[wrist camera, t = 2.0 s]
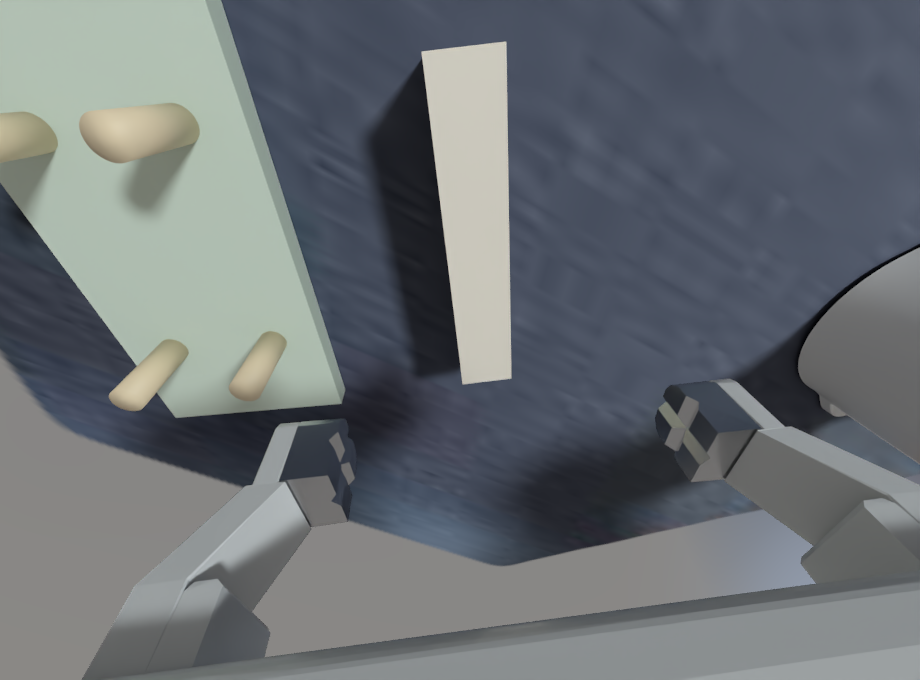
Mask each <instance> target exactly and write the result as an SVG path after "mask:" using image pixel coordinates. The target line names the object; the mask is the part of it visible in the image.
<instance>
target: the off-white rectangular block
mask: <svg viewBox="0 0 920 680" xmlns="http://www.w3.org/2000/svg"><path fill="white" fill-rule="evenodd" d="M422 60H423V68H424V76H425V84H426V92H427V100H428V108H429V116H430V125H431V133H432V141H433V149H434V157H435V165H436V173H437V181H438V189H439V197H440V205H441V213H442V222H443V230H444V238H445V246H446V254H447V262H448V270H449V278H450V286H451V294H452V302H453V310H454V319H455V327H456V335H457V343H458V351H459V359H460V367H461V375H462V383H463V384H470V383H478V382H486V381H494V380H503V379H511V323H510V257H509V191H508V126H507V60H506V42H499V43H490V44H482V45H473V46H465V47H456V48H448V49H439V50H431V51H422Z"/></svg>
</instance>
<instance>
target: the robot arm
mask: <svg viewBox="0 0 920 680" xmlns="http://www.w3.org/2000/svg"><path fill="white" fill-rule="evenodd" d="M798 371H799V375H800V377H801V379H802V381H803V382H804V383H805V384H806V385H807V386H808V387H810V388H811V389H813V390H815V391H816V392H817V393H818V394H819V397H820V404H821V407H822V408H823V409H824V410H826V411H827V412H828V413H830V414H831V415H833V416H836V417H840V416H846V415H848V416H849V417H851V418H852V419H854V420H855V421H857V422H858V423H860V424H861V425H862V426H864V427H865V428H867V429H868V430H870V431H871V432H873V433H874V434H876V435H877V436H878V437H880V438H881V439H883V440H884V441H886V442H887V443H889V444H890V445H892V446H893V447H895V448H896V449H898V450H899V451H901V452H902V453H904V454H905V455H907V456H908V457H910V458H911V459H913V460H914V461H916V462H917V463H919V464H920V247H919V248H917V249H915V250H913V251H911V252H909V253H908V254H906V255H904V256H902V257H900V258H898V259H896V260H894V261H892V262H891V263H889V264H887V265H885V266H884V267H882V268H881V269H879V270H877V271H876V272H874V273H873V274H871V275H870V276H868V277H867V278H866V279H864V280H863V281H861V282H860V283H859V284H857V285H856V286H855V287H854V288H852V289H851V290H850V291H849V292H847V293H846V294H845V295H844V296H843V297H842V298H841V299H839V300H838V301H837V302H836V303H835V304H834V305H833V306H832V307H831V308H830V309H829V310H828V311H827V312H826V314H825V315H824V316H823V317H822V318H821V319H820V320H819V322H818V323H817V324H816V326H815V327H814V328H813V330H812V331H811V333H810V334H809V336H808V338H807V339H806V341H805V343H804V345H803V347H802V350H801V353H800V356H799V361H798ZM663 397H664V399H665V401H666V402H665V403H664V404H663V405H662V406H661V407H659V408H658V410H657V414H656V417H655V422H656V429H657V432H658V434H659V436H660V438H661V440H662V441H663V443H664V444H665V445H667V446H668V447H670V448H671V449H673V450H675V460H676V462H677V463H678V465H679V466H680V467H681V469H682V470H683V472H684V473H685V475H686V476H687V478H688V479H689V480H690V482H698V481H709V480H721V479H725V480H724V481H725V482H726V483H728V484H729V485H731V486H732V487H733V488H735V489H736V490H737V491H739V492H740V493H742V494H743V495H744V496H746V497H747V498H748V499H750V500H751V501H753V502H754V503H755V504H757V505H758V506H759V507H761V508H762V509H764V510H765V511H767V512H768V513H769V514H771V515H772V516H773V517H775V518H776V519H777V520H779V521H780V522H782V523H783V524H784V525H786V526H787V527H788V528H790V529H791V530H793V531H794V532H795V533H797V534H798V535H800V536H801V537H802V538H804V539H805V540H806V541H808V542H809V543H810V544H812V545H813V547H812V548H811V549H810V550H809V551H808V552H807V553H806V554H804V555H803V556H802V558H801V564H802V566H803V567H804V569H805V570H806V571H807V572H808V574H809V575H810V576H811V577H812V579H813V580H814V581H815V583H816V584H810V585H803V586H795V587H788V588H781V589H773V590H765V591H758V592H751V593H743V594H736V595H729V596H721V597H714V598H705V599H698V600H691V601H683V602H676V603H669V604H661V605H654V606H646V607H639V608H631V609H624V610H616V611H608V612H601V613H593V614H586V615H578V616H571V617H563V618H556V619H549V620H541V621H533V622H526V623H519V624H511V625H503V626H496V627H488V628H481V629H473V630H466V631H458V632H451V633H444V634H436V635H428V636H422V637H414V638H406V639H398V640H391V641H384V642H376V643H369V644H361V645H354V646H346V647H339V648H331V649H324V650H316V651H309V652H301V653H294V654H287V655H279V656H271V657H265V653H266V648H267V644H268V641H269V637H270V632H269V630H268V628H267V626H266V625H265V624H264V623H263V622H262V621H261V620H260V619H258V618H257V616H255V615H254V614H253V613H252V611H253V609H254V608H255V606H256V605H257V604H258V602H259V601H260V600H261V598H262V597H263V595H264V594H265V592H266V591H267V590H268V589H269V587H270V586H271V584H272V583H273V582H274V580H275V579H276V577H277V576H278V575H279V573H280V572H281V570H282V569H283V567H284V566H285V565H286V564H287V562H288V561H289V559H290V558H291V556H292V555H293V554H294V553H295V551H296V550H297V548H298V547H299V546H300V544H301V543H302V541H303V540H304V539H305V537H306V535H308V533H309V532H310V530H311V528H310V527H314V526H321V525H329V524H335V523H342V522H348V518H349V512H350V506H351V500H352V493H351V490H350V488H349V484H350V483H351V482H352V481H353V480H354V479H355V474H356V450H355V445H354V442H353V440H352V439H350V438H349V437H348V432H349V427H348V424H347V422H346V419H330V420H317V421H304V422H296V423H283V424H280V425H279V426H278V427H277V428H276V429H275V431H274V433H273V436H272V438H271V441H270V443H269V446H268V448H267V450H266V453H265V455H264V458H263V460H262V462H261V465H260V467H259V470H258V472H257V475H256V477H255V479H254V482H253V484H252V485H247V486H245V487H244V488H242V489H241V490H240V491H239V492H238V493H237V494H236V495H235V496H234V497H232V498H231V499H230V500H229V501H228V502H227V503H226V504H225V505H224V506H223V507H222V508H221V509H219V510H218V511H217V512H216V513H215V514H214V515H213V516H212V517H210V518H209V519H208V520H207V521H206V522H205V523H204V524H203V525H202V526H200V527H199V528H198V529H197V530H196V531H195V532H194V533H193V534H192V535H191V536H190V537H188V538H187V539H186V540H185V541H184V542H183V543H182V544H181V545H180V546H178V547H177V548H176V549H175V550H174V551H173V552H172V553H171V554H170V555H169V556H167V557H166V558H165V559H164V560H163V561H162V562H161V563H160V564H159V565H157V566H156V567H155V568H154V569H153V570H152V571H151V572H150V573H149V574H148V575H146V576H145V577H144V578H143V579H142V580H141V581H140V582H139V583H138V584H137V585H135V586H134V588H133V590H132V591H131V593H130V595H129V597H128V599H127V600H126V602H125V604H124V606H123V607H122V609H121V611H120V613H119V614H118V617H117V618H116V620H115V622H114V623H113V625H112V627H111V629H110V631H109V633H108V634H107V636H106V638H105V640H104V641H103V643H102V645H101V647H100V648H99V650H98V652H97V653H96V655H95V657H94V659H93V661H92V662H91V664H90V666H89V668H88V669H87V671H86V673H85V675H84V677H83V678H82V680H920V485H918V484H916V483H914V482H912V481H909V480H907V479H905V478H903V477H901V476H899V475H896V474H894V473H892V472H890V471H888V470H885V469H883V468H881V467H879V466H877V465H875V464H872V463H870V462H868V461H866V460H864V459H861V458H859V457H857V456H855V455H853V454H851V453H848V452H846V451H844V450H842V449H840V448H837V447H835V446H833V445H831V444H829V443H827V442H824V441H822V440H820V439H818V438H816V437H813V436H811V435H809V434H807V433H805V432H803V431H800V430H798V429H796V428H794V427H792V426H790V427H785V426H784V425H783V424H781V423H780V422H779V421H778V420H777V419H776V418H775V417H774V416H773V415H772V414H771V413H770V412H769V411H768V410H766V409H765V408H764V407H763V406H762V405H761V404H760V403H759V402H758V401H757V400H756V399H755V398H754V397H753V396H751V395H750V394H749V393H748V392H747V391H746V390H745V389H744V388H743V387H742V386H741V385H740V384H739V383H737V382H736V381H734V380H732V379H722V380H713V381H703V382H694V383H685V384H676V385H670V386H669V387H668V388H667V389H666V390H665V393H664V395H663Z"/></svg>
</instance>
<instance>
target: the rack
mask: <svg viewBox="0 0 920 680" xmlns="http://www.w3.org/2000/svg"><path fill="white" fill-rule="evenodd" d="M0 183H1V184H2V186H3V187H4V188H5V190H6V191H7V192H8V194H9V195H10V196H11V198H12V199H13V200H14V202H15V203H16V204H17V206H18V207H19V208H20V210H21V211H22V212H23V214H24V215H25V216H26V218H27V219H28V220H29V222H30V223H31V224H32V226H33V227H34V228H35V230H36V231H37V232H38V234H39V235H40V236H41V238H42V239H43V241H44V242H45V243H46V245H47V246H48V247H49V249H50V250H51V251H52V253H53V254H54V255H55V257H56V258H57V259H58V261H59V262H60V263H61V265H62V266H63V267H64V269H65V270H66V271H67V273H68V274H69V275H70V277H71V278H72V279H73V281H74V282H75V283H76V285H77V286H78V287H79V289H80V290H81V291H82V293H83V294H84V296H85V297H86V298H87V300H88V301H89V302H90V304H91V305H92V306H93V308H94V309H95V310H96V312H97V313H98V314H99V316H100V317H101V318H102V320H103V321H104V322H105V324H106V325H107V326H108V328H109V329H110V330H111V332H112V333H113V334H114V336H115V337H116V338H117V340H118V341H119V342H120V344H121V345H122V346H123V348H124V349H125V351H126V352H127V353H128V355H129V356H130V357H131V359H132V360H133V361H134V363H135V364H136V365H137V367H136V368H135V369H134V370H133V371H132V372H131V373H130V374H129V375H128V376H127V377H126V378H125V379H124V380H123V381H122V382H121V383H120V384H119V385H118V386H117V387H116V388H115V389H114V390H113V391H112V392H111V393H110V394H109V398H110V400H111V402H112V403H113V404H114V405H116V406H117V407H119V408H122V409H124V410H128V411H138V410H141V409H143V408H144V406H145V405H146V404H147V403H148V402H149V401H150V399H151V398H152V397H153V396H154V395H155V394H156V392H157V393H158V395H159V396H160V397H161V399H162V400H163V401H164V403H165V404H166V406H167V407H168V408H169V410H170V411H171V412H172V414H173V415H174V416H175V418H181V417H193V416H204V415H216V414H228V413H239V412H251V411H262V410H274V409H286V408H297V407H309V406H321V405H332V404H342V400H343V397H344V393H345V387H344V384H343V381H342V378H341V375H340V371H339V368H338V365H337V362H336V359H335V356H334V353H333V350H332V346H331V343H330V340H329V337H328V334H327V331H326V328H325V324H324V321H323V318H322V315H321V312H320V309H319V306H318V303H317V299H316V296H315V293H314V290H313V287H312V284H311V281H310V278H309V274H308V271H307V268H306V265H305V262H304V259H303V256H302V252H301V249H300V246H299V243H298V240H297V237H296V234H295V231H294V227H293V224H292V221H291V218H290V215H289V212H288V209H287V206H286V202H285V199H284V196H283V193H282V190H281V187H280V184H279V180H278V177H277V174H276V171H275V168H274V165H273V162H272V159H271V155H270V152H269V149H268V146H267V143H266V140H265V137H264V134H263V130H262V127H261V124H260V121H259V118H258V115H257V112H256V108H255V105H254V102H253V99H252V96H251V93H250V90H249V87H248V83H247V80H246V77H245V74H244V71H243V68H242V65H241V62H240V58H239V55H238V52H237V49H236V46H235V43H234V40H233V36H232V33H231V30H230V27H229V24H228V21H227V18H226V15H225V11H224V8H223V5H222V2H221V0H0Z"/></svg>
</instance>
